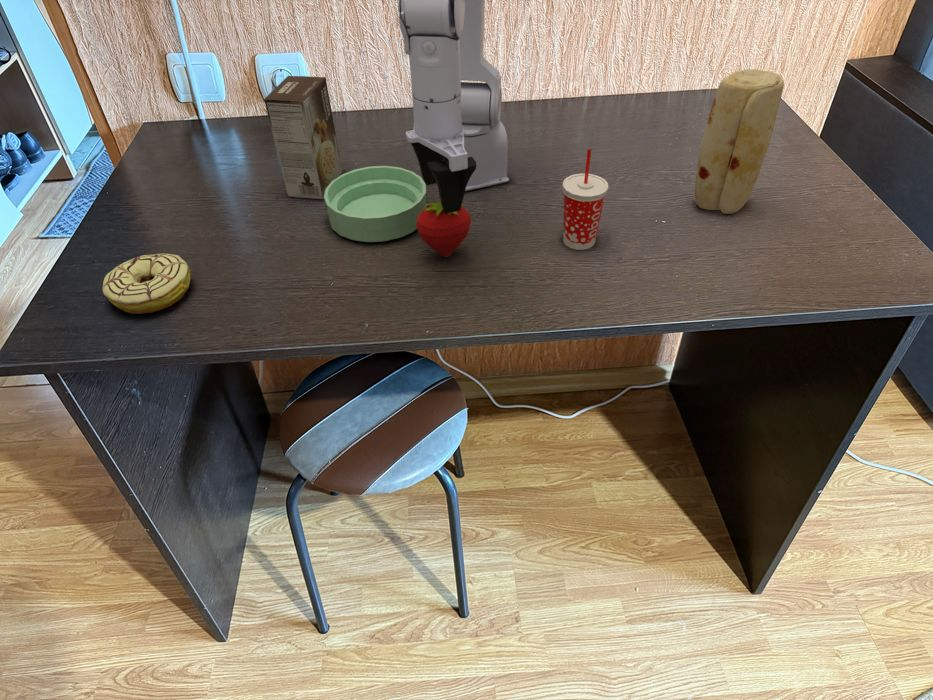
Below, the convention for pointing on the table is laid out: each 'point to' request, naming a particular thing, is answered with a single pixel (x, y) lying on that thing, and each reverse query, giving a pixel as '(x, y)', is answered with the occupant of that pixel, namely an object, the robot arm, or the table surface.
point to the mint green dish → (375, 203)
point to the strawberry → (443, 228)
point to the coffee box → (304, 135)
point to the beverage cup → (582, 207)
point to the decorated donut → (147, 283)
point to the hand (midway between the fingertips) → (442, 196)
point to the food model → (737, 139)
